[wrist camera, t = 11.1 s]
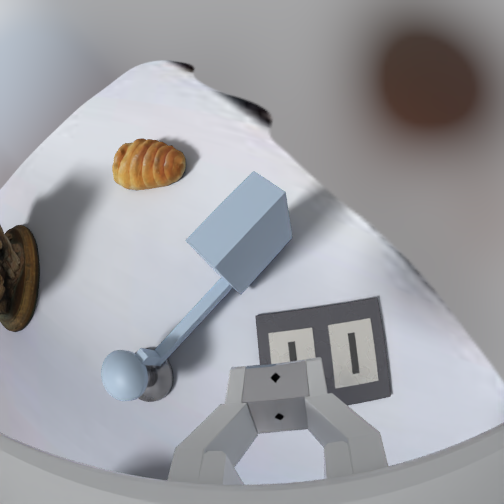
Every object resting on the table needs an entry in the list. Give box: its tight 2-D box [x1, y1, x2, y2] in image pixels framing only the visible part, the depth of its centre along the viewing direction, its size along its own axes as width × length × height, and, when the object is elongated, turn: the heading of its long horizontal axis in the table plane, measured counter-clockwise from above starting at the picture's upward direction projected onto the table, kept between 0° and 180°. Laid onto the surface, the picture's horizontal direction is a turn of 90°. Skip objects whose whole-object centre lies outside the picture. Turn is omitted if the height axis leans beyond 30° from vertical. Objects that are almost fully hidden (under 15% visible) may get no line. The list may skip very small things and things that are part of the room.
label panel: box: [256, 298, 390, 405], centre depth 25 cm, size 9×11×1 cm
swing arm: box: [101, 171, 292, 401], centre depth 23 cm, size 21×4×8 cm, turn 137°
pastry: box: [112, 139, 186, 190], centre depth 34 cm, size 9×7×4 cm
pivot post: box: [135, 352, 173, 402], centre depth 25 cm, size 5×5×4 cm
